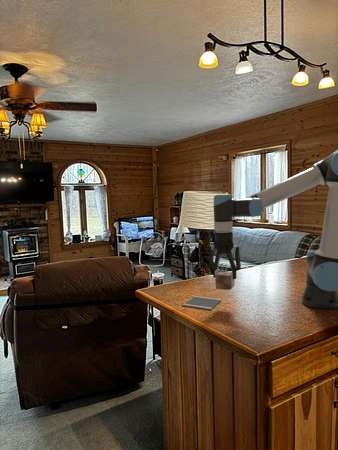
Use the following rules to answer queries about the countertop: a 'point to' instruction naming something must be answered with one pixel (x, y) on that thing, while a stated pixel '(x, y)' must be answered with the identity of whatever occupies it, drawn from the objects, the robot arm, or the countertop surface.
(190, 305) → the tray
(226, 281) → the walnut block
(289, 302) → the countertop surface
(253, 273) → the countertop surface
